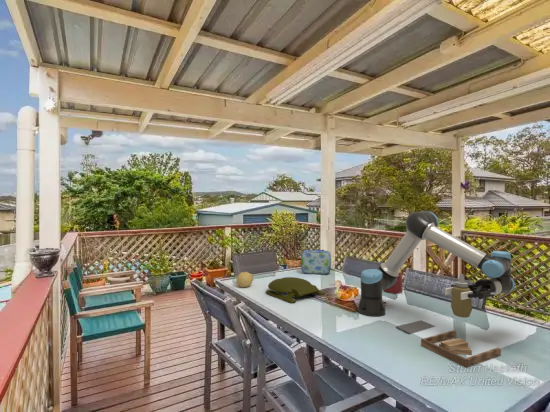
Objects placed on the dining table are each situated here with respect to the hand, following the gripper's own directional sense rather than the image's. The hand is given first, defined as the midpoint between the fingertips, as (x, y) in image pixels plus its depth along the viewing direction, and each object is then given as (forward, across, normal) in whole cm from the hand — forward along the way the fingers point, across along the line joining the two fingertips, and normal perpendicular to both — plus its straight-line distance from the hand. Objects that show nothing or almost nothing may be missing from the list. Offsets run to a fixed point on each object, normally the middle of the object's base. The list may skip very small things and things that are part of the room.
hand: (453, 294), depth 135 cm
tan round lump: (+46, +134, -25) cm, 144 cm away
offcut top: (+3, -3, -21) cm, 21 cm away
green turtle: (+23, +103, -25) cm, 108 cm away
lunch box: (-24, +146, -25) cm, 150 cm away
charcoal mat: (-5, +19, -24) cm, 31 cm away
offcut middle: (+3, -3, -23) cm, 23 cm away
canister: (-43, +76, -24) cm, 91 cm away
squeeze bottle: (-5, 0, -10) cm, 11 cm away
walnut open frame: (0, -3, -24) cm, 24 cm away
